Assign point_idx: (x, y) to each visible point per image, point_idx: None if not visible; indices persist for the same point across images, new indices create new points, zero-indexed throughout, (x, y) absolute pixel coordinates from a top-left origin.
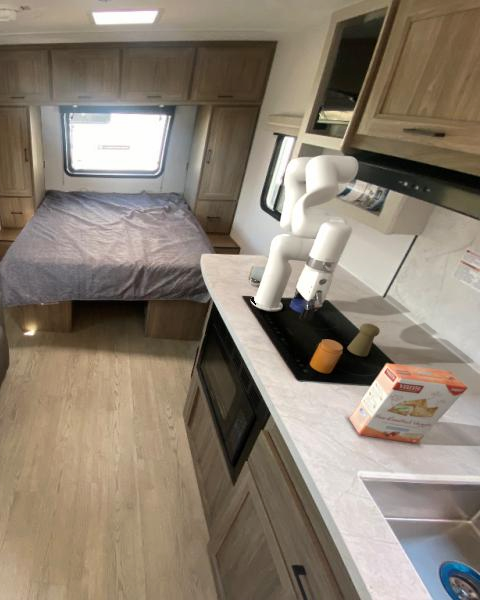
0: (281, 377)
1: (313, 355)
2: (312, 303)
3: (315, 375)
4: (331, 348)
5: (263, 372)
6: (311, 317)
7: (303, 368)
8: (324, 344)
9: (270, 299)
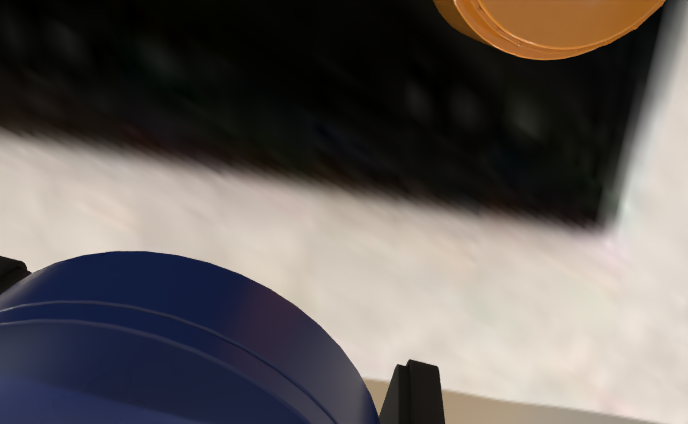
0: (558, 308)
1: (464, 32)
2: (63, 360)
3: (584, 75)
4: (646, 7)
5: (501, 379)
6: (442, 409)
7: (502, 115)
8: (560, 41)
9: None
